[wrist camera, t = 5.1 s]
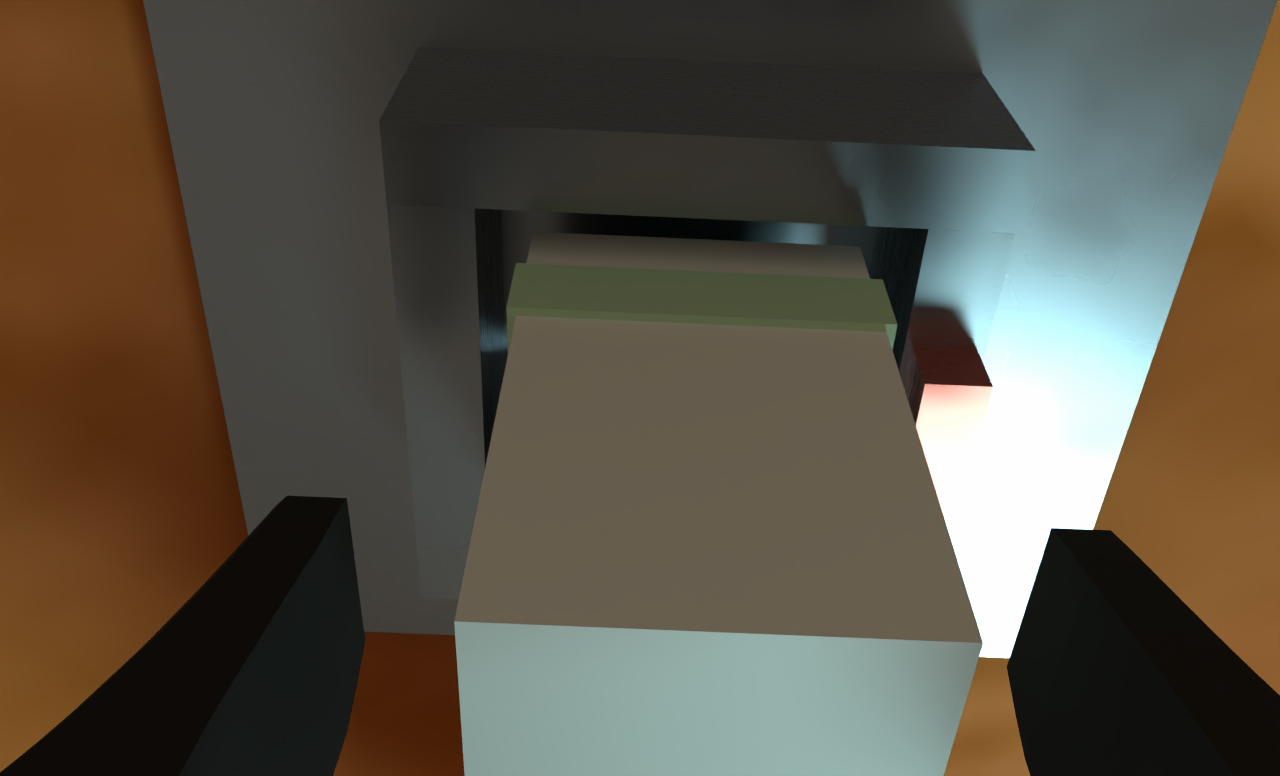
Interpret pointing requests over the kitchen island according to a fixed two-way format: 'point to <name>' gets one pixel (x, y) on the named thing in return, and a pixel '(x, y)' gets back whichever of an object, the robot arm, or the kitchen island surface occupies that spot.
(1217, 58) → the stand base
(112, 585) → the kitchen island surface
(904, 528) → the pale grey block
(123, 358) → the kitchen island surface
